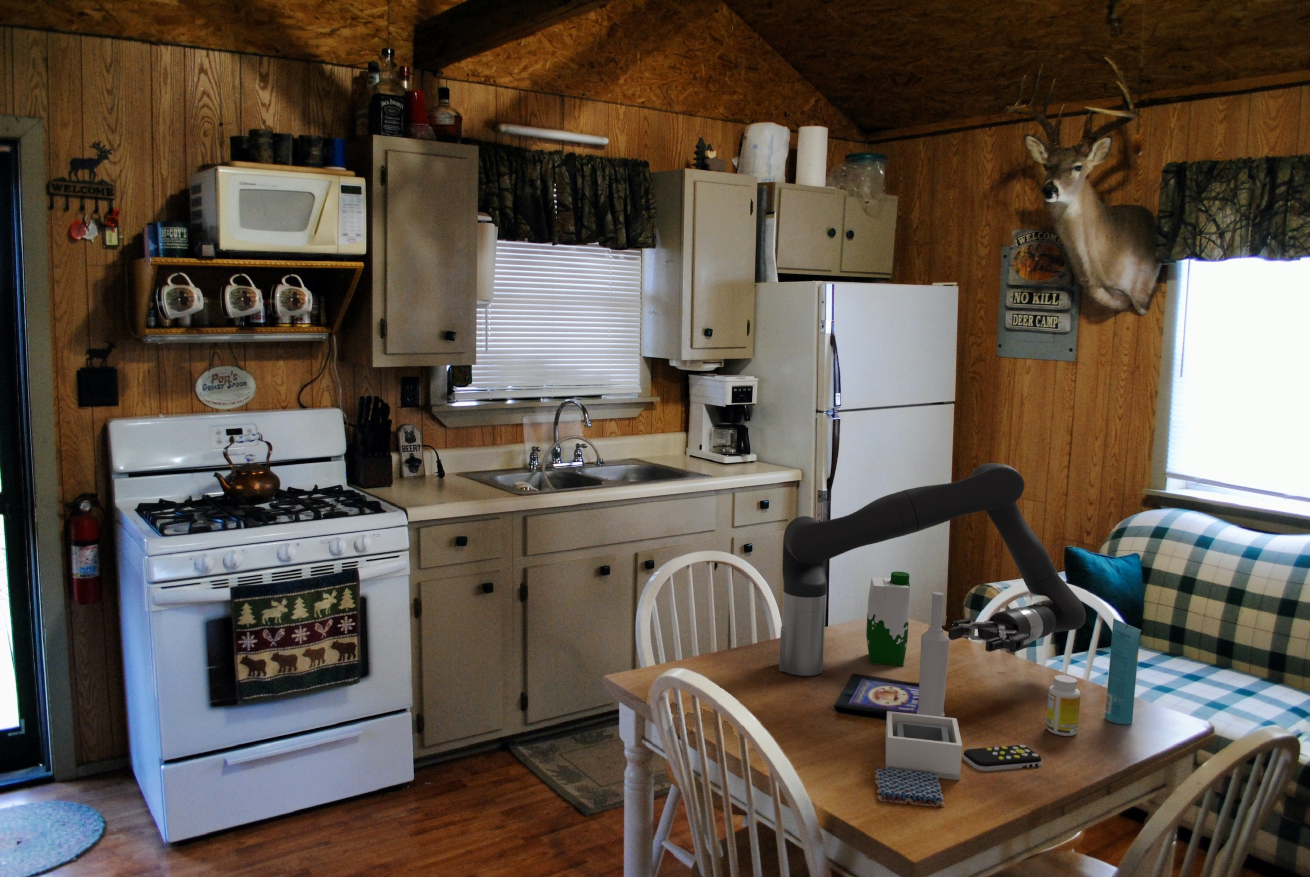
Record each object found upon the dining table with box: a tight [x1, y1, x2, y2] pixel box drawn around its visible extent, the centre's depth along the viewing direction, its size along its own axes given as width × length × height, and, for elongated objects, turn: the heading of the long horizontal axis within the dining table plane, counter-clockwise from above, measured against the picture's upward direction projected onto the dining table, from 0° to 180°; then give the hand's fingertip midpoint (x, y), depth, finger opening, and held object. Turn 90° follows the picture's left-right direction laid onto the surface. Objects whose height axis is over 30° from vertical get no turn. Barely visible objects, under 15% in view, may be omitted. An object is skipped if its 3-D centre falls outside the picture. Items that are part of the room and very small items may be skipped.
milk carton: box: [865, 571, 911, 667], centre depth 226 cm, size 9×9×20 cm
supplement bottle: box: [1045, 674, 1081, 737], centre depth 189 cm, size 6×6×10 cm
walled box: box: [884, 710, 963, 781], centre depth 175 cm, size 12×12×6 cm
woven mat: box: [874, 766, 946, 808], centre depth 164 cm, size 10×11×2 cm
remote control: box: [962, 744, 1042, 772], centre depth 176 cm, size 6×13×2 cm, turn 104°
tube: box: [1104, 618, 1142, 725], centre depth 195 cm, size 7×5×19 cm, turn 20°
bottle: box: [916, 591, 951, 717], centre depth 191 cm, size 5×5×25 cm
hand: (968, 640), depth 198 cm, fingers open, 8 cm apart
